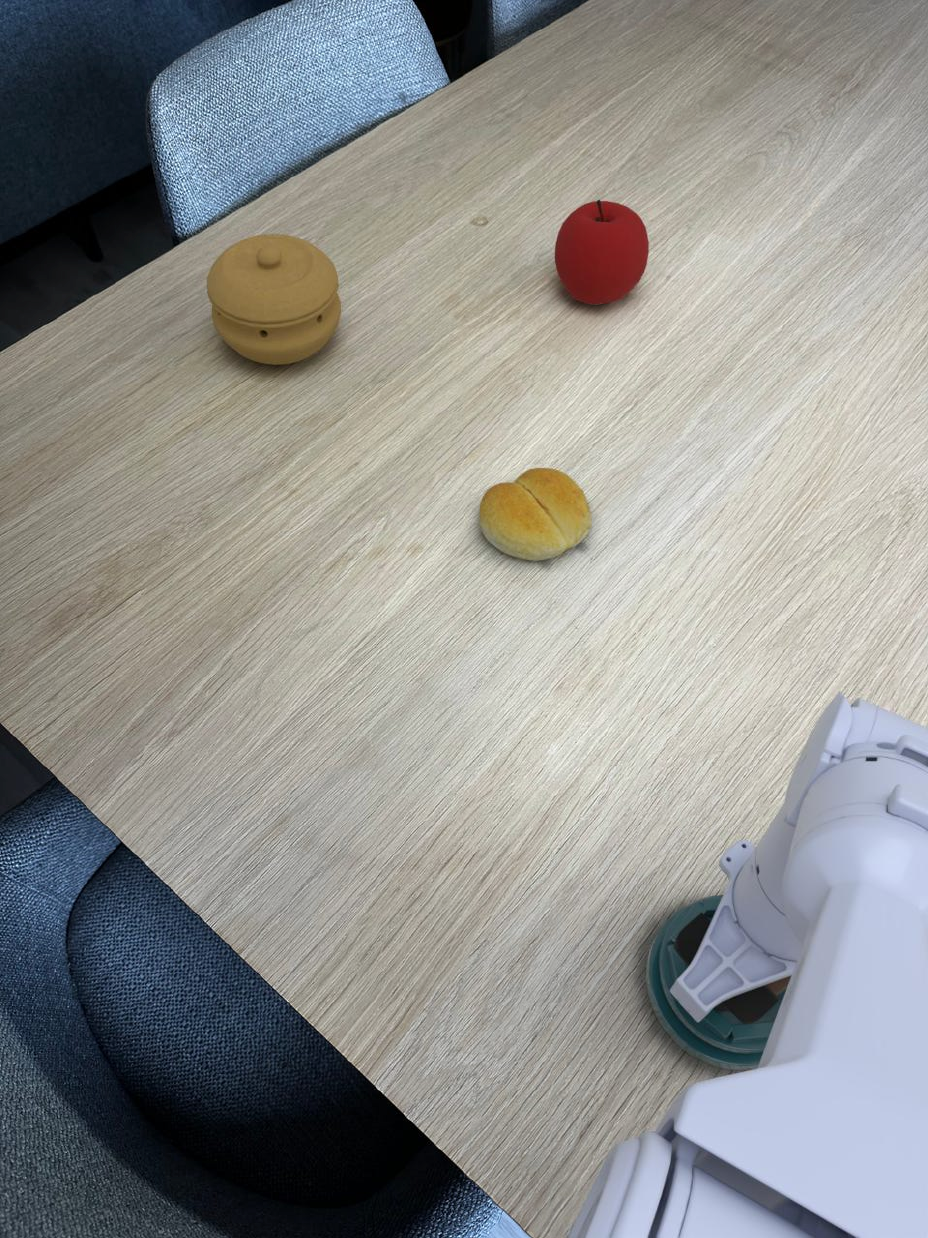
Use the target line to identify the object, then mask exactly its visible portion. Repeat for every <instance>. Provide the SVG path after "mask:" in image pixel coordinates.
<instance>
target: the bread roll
mask: <svg viewBox="0 0 928 1238" xmlns="http://www.w3.org/2000/svg"><path fill="white" fill-rule="evenodd" d="M584 492H585V491H584V490H583V489H582V488H581V487H580V486H579V484H578V483H577V481H575V480H574V478H573V477H572V476H571V475H569V474H567V473H566V472H563V471H561V470H559V469H556V468H549V467H535V468H530V469H527V470H526V471H524V472H523V473H521V474H520V475H519V476H518V477H517V478H516V479H515V480H514V481H513V482H500V483H497V484H494V485H492V486H491V487H489V489H487V491H485V492H484V494H483V496H482V499H481V501H480V504H479V509H478V517H479V525H480V529H481V531H482V534H483V535H484V537H485V539H486V540H487V541H488V543H490V544H491V545H492V546H493V547H494V548H495V549H497V550H498V551H500V552H502V553H504V554H506V555H508V556H512V557H515V558H519V559H522V560H527V561H533V562H537V561H538V562H539V561H545V560H549V559H553V558H555V557H558V556H560V555H562V554H563V553H564V552H565V551H567V550H570V549H572V548H574V547H576V546H578V545H579V544H580V543H581V542H582V541H583V540H584V539H586V537H587V536H588V534H589V532H590V531H591V529H592V527H593V523H592V522H593V521H592V516H591V514H592V513H591V511H590V506H589V503H588V500H587V497H586V495H585V493H584Z"/></svg>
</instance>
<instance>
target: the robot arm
mask: <svg viewBox="0 0 928 1238" xmlns="http://www.w3.org/2000/svg"><path fill="white" fill-rule="evenodd" d="M784 797H785V798H784V802H783V804H782V806H781V807H780V809H779V810H778V812H777V813H776V815H775V816H774V818H773V820H772V821H771V822H770V824H769V826H768V827H767V829H766V830H765V832H764V834H763V835H762V836H761V838H760V840H759V841H758V843H757V845H756V846H755V845H754V844H753V843H752V842H750V841H749V840H747V839H740V840H737V841H736V842H735V843H734V844H733V845H732V846H731V847H730V848H728V849H727V850H726V851H725V852H723V854H722V855H721V857H720V859H719V860H718V867H719V868H720V870H721V871H722V872H723V873H724V874H725V876H726V877H727V881H728V883H727V886H726V888H725V890H724V893H723V894H722V895H723V897H722V899H721V901H720V904H719V906H718V908H717V910H716V912H715V914H714V917H713V919H712V921H710V920H709V919H708V918H707V917H706V916H705V915H704V914H703V913H702V912H701V913H700V914H699V915H698V916H696V917H695V918H694V919H693V920H692V921H691V922H690V923H689V924H687V925H686V926H685V927H684V928H683V929H682V930H681V931H680V932H679V934H678V936H677V937H676V940H675V943H674V949H675V951H676V952H677V954H678V955H679V956H680V957H681V958H682V959H683V960H684V962H685V963H686V964H687V965H688V966H689V967H688V968H687V969H686V970H685V971H684V973H683V974H682V975H681V976H680V977H679V978H678V979H677V980H676V981H675V983H674V985H673V986H672V988H671V989H670V993H671V994H672V995H673V996H674V997H675V998H676V999H677V1000H678V1002H679V1003H680V1004H681V1005H682V1006H683V1007H684V1009H685V1010H686V1011H687V1012H689V1014H690V1015H691V1016H692V1017H693V1018H694V1019H695V1020H696V1022H700V1021H701V1020H702V1019H703V1018H704V1017H705V1016H706V1015H707V1014H708V1013H709V1012H710V1011H711V1010H712V1009H713V1008H714V1009H715V1010H716V1011H719V1012H725V1011H731V1013H732V1014H733V1015H734V1016H735V1017H736V1018H737V1019H738V1020H739V1021H741V1022H742V1023H743V1024H745V1025H748V1024H751V1023H754V1022H756V1021H758V1020H759V1019H761V1018H762V1017H763V1016H764V1015H765V1014H766V1013H767V1012H768V1011H769V1010H770V1009H771V1008H772V1007H773V1006H774V1005H775V1004H776V1003H777V1002H778V1001H779V998H778V997H777V996H776V995H775V994H774V993H773V992H772V991H771V990H770V989H769V988H768V987H767V986H766V984H769V983H772V982H774V981H777V980H780V979H782V978H785V977H788V976H791V975H792V976H791V979H790V981H789V984H788V987H787V989H786V992H785V995H784V998H783V1000H782V1003H781V1006H780V1008H779V1011H778V1014H777V1017H776V1019H775V1022H774V1025H773V1027H772V1030H771V1033H770V1036H769V1038H768V1041H767V1044H766V1047H765V1049H764V1052H763V1055H762V1057H761V1060H760V1063H759V1066H758V1068H756V1069H750V1070H743V1071H739V1072H736V1073H732V1074H727V1075H721V1076H718V1077H713V1078H709V1079H705V1080H699V1081H696V1082H694V1083H692V1084H690V1085H688V1086H685V1087H684V1088H683V1089H682V1090H681V1091H680V1092H679V1094H677V1096H676V1098H675V1099H674V1100H673V1101H672V1103H671V1105H670V1106H669V1108H667V1110H666V1112H665V1113H664V1115H663V1117H662V1118H661V1120H660V1122H659V1123H658V1125H657V1127H655V1130H644V1131H643V1132H642V1133H640V1134H639V1136H638V1137H632V1138H629V1139H625V1140H623V1141H619V1142H617V1143H616V1144H614V1146H613V1147H612V1149H611V1151H610V1152H609V1154H608V1155H607V1157H606V1158H605V1160H604V1162H603V1164H602V1166H601V1168H600V1169H599V1171H598V1174H597V1175H596V1177H595V1179H594V1182H593V1183H592V1185H591V1187H590V1188H589V1189H590V1190H589V1191H588V1194H587V1196H586V1198H585V1200H584V1201H583V1204H582V1206H581V1207H580V1210H579V1212H578V1215H577V1216H576V1219H575V1221H574V1224H573V1226H572V1227H571V1229H570V1231H569V1234H568V1237H567V1238H928V727H927V726H925V725H922V724H920V723H918V722H916V721H913V720H911V719H909V718H906V717H904V716H903V715H902V716H901V715H899V714H897V713H895V712H893V711H890V710H888V709H886V708H884V707H882V706H879V705H877V704H874V703H873V702H870V701H867V700H866V699H863V698H861V697H857V698H855V700H854V701H853V702H852V703H850V701H849V698H847V697H845V696H844V693H843V692H842V691H839V692H838V693H837V694H836V695H835V696H834V697H833V698H832V700H831V701H830V703H828V705H827V706H826V707H825V708H824V710H823V711H822V712H821V714H820V716H819V717H818V719H817V721H816V722H815V724H814V726H813V728H812V730H811V732H810V734H809V736H808V738H807V740H806V742H805V744H804V746H803V748H802V751H801V753H800V754H799V757H798V759H797V761H796V763H795V766H794V768H793V771H792V773H791V775H790V779H789V781H788V784H787V787H786V792H785V796H784Z"/></svg>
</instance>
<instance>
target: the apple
mask: <svg viewBox="0 0 928 1238" xmlns="http://www.w3.org/2000/svg"><path fill="white" fill-rule="evenodd" d="M647 231H648V230H647V227H646V225H645V224H644V221H643V220H642V218H641V217H640V215H639V214H638V213H636V211H634V210H633V209H631V208H630V207H629V206H627V205H624V204H621V203H619V202H615V201H614V202H613V201H608V200H600V199H597V200H596V201H590V202H586V203H584V204H582V205H580V206H579V207H577V208H576V209H575V210H573V211H572V212H571V213H570V214H569V215H568V216H567V217H566V219H565V220H564V221H562V224H561V226H560V228H559V230H558V233H557V236H556V240H555V244H554V245H555V246H554V247H555V248H554V264H555V270H556V273H557V275H558V276H557V277H558V278H559V281H560V282H561V284H562V285H563V288H564V289H565V290H566V291H567V292H568V294H570V296H571V297H572V298H573V299H574V300H576V301H578V302H580V303H582V304H587V305H602V304H608V303H614V302H615V303H616V302H617V301H619V300H621V299H622V298H624V297H625V296H626V295H628V294H629V293H630V292H631V291H632V290H634V288H635V287H636V286H637V285H638V284H639V282H640V281H641V279H642V277H643V275H644V273H645V271H646V268H647V265H648V259H649V254H650V253H649V252H650V251H649V250H650V249H649V247H650V241H649V236H648V232H647Z"/></svg>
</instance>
